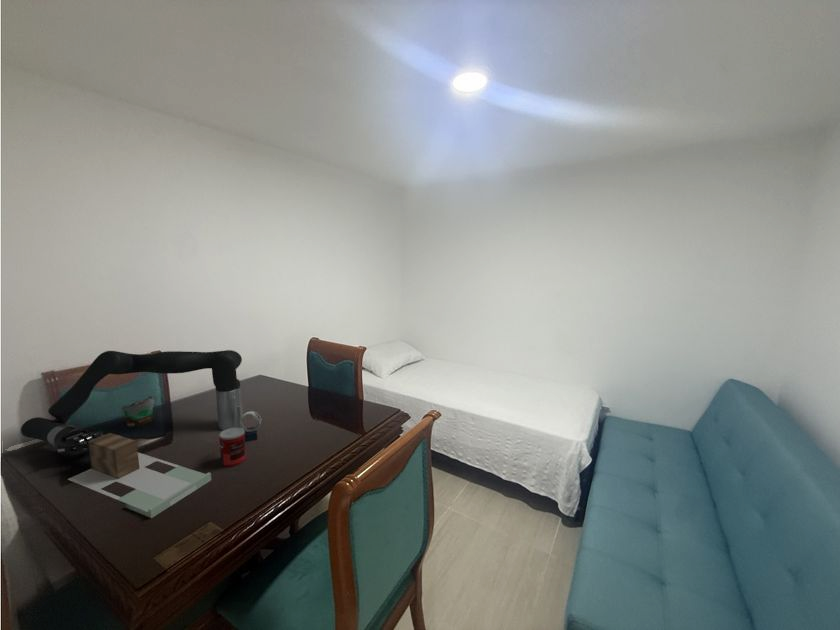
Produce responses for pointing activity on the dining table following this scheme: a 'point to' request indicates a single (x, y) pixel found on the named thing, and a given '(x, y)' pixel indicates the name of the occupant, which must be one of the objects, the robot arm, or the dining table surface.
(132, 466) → the walnut block
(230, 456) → the canned food
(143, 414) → the food container
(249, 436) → the watch
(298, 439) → the dining table surface
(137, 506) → the trap lane
